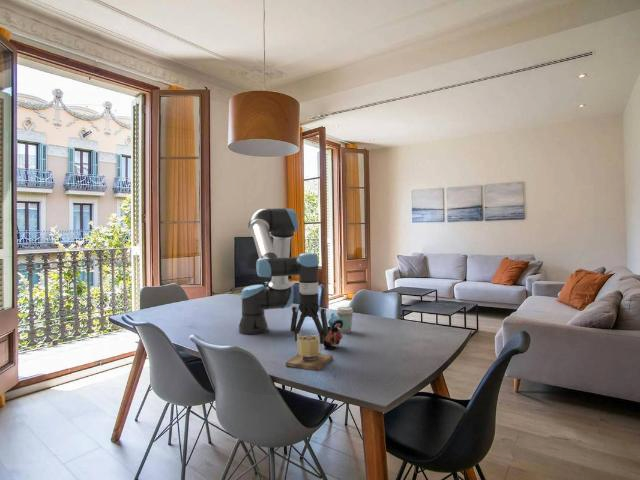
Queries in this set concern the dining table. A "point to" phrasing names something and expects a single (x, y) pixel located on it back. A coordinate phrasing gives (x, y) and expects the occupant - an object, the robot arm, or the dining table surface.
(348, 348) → the dining table surface
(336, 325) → the figurine
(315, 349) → the hub
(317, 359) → the shaft block
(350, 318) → the coffee cup
